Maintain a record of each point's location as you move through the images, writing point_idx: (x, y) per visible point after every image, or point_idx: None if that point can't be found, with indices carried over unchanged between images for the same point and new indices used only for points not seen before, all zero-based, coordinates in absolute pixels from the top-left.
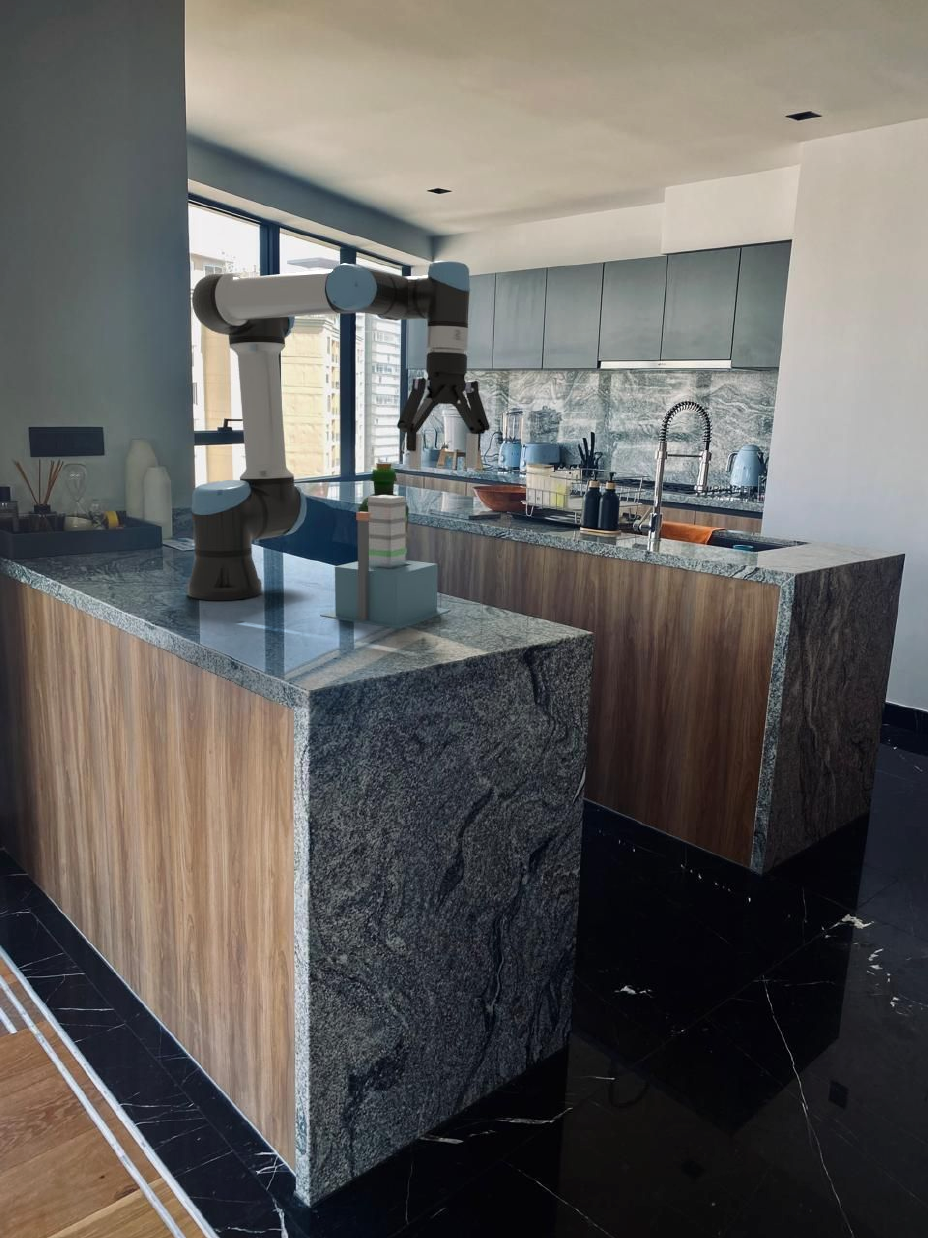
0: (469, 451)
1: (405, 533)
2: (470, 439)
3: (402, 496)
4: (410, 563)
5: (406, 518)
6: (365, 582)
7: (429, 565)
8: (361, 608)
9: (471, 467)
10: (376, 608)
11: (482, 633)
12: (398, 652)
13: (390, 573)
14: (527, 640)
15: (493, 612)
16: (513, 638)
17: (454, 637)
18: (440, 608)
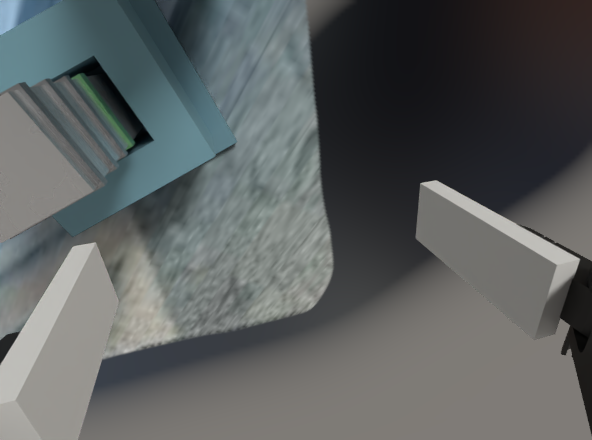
0: (465, 241)
1: (121, 154)
2: (515, 279)
3: (81, 183)
4: (155, 126)
5: (114, 169)
6: None
7: (187, 167)
8: None
9: (418, 223)
10: None
11: (217, 263)
12: None
13: (60, 221)
14: (251, 307)
15: (305, 162)
16: (240, 295)
17: (168, 268)
18: (224, 125)
